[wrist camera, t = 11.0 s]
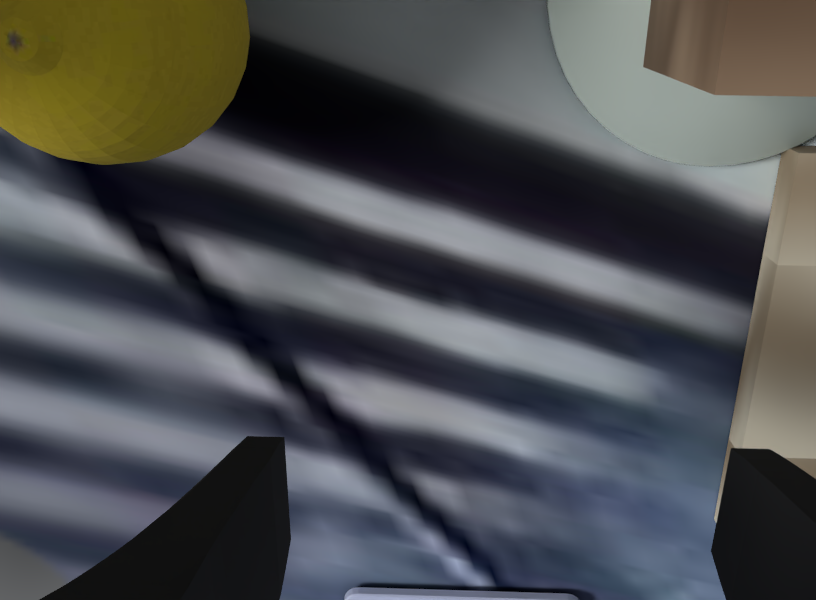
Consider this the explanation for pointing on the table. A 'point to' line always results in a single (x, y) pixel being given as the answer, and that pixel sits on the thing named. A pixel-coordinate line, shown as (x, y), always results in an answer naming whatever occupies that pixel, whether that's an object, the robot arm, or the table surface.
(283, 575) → the robot arm
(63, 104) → the lemon
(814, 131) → the disc
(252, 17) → the table surface
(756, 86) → the walnut block
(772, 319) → the pocket block
